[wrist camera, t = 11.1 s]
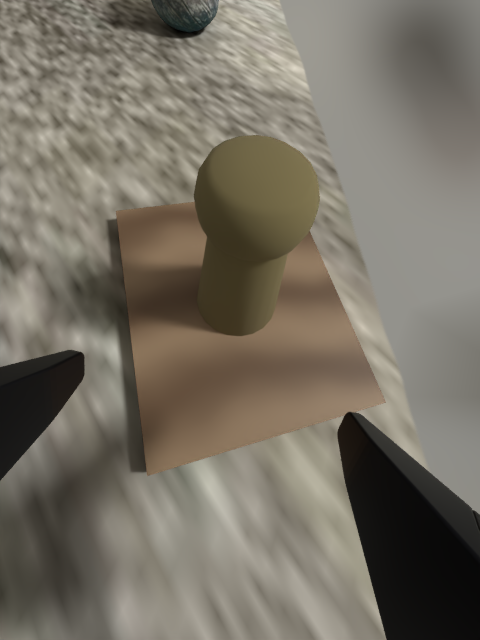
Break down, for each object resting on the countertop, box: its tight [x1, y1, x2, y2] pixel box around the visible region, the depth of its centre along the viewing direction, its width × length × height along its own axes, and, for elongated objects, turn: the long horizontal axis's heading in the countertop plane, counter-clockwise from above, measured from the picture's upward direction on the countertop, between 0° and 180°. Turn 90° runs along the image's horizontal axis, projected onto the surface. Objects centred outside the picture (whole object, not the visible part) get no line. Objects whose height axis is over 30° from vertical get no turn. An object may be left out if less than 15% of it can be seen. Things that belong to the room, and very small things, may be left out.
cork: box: [194, 135, 320, 336], centre depth 14 cm, size 6×6×11 cm
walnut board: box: [116, 202, 386, 476], centre depth 20 cm, size 20×16×1 cm
